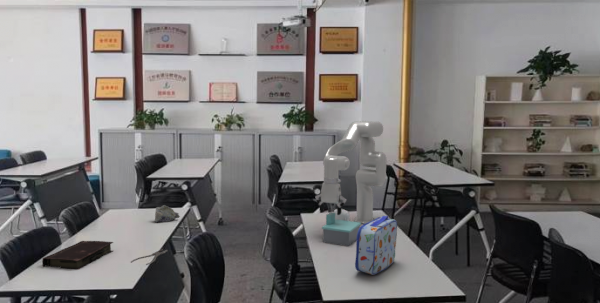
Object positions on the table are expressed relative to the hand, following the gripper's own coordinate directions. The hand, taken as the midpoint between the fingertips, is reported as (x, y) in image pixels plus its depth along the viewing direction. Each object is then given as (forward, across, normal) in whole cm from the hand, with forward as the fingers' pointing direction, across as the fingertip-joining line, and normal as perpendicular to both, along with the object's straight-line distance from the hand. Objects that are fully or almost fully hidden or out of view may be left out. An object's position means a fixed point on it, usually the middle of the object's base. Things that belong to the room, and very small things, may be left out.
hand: (330, 213), depth 237 cm
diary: (+16, +90, +80) cm, 121 cm away
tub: (+13, -6, -1) cm, 15 cm away
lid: (+8, -6, -1) cm, 10 cm away
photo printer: (+13, 0, -16) cm, 21 cm away
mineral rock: (+14, +100, +14) cm, 102 cm away
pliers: (+15, +63, +64) cm, 91 cm away
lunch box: (+14, -34, +29) cm, 47 cm away
